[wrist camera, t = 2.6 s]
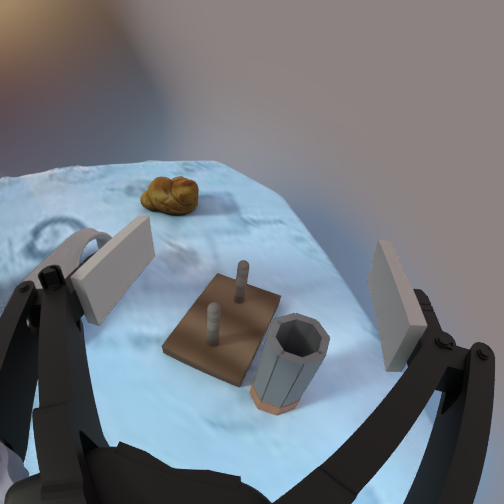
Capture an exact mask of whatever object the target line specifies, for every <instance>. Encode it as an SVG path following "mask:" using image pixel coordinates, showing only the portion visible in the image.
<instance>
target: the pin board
mask: <svg viewBox="0 0 504 504" xmlns="http://www.w3.org/2000/svg"><path fill="white" fill-rule="evenodd" d="M248 272H249V263H248V262H247V261H245V260H242V261H240V262H239V263H238V269H237V277H236V280H235V279H232V278H229V277H226V276H224V275H221V274H218V273H217V274H216V276H215V277H214V278H213V280H212V281H211V282H210V283H209V285H208V286H207V287H206V289H205V290H204V291H203V293H202V294H201V295H200V296H199V298H198V299H197V300H196V302H195V303H194V304H193V306H192V307H191V308H190V309H189V311H188V312H187V313H186V315H185V316H184V317H183V319H182V320H181V321H180V323H179V324H178V325H177V327H176V328H175V329H174V330H173V332H172V333H171V334H170V336H169V337H168V338H167V340H166V341H165V342H164V344H163V345H162V349H163V353H165V354H167V355H169V356H171V357H173V358H175V359H177V360H179V361H181V362H183V363H185V364H187V365H189V366H191V367H193V368H195V369H198V370H200V371H202V372H204V373H206V374H209V375H211V376H213V377H216V378H218V379H220V380H223V381H225V382H227V383H230V384H232V385H235V386H237V387H240V385H241V383H242V381H243V379H244V377H245V375H246V372H247V370H248V368H249V366H250V364H251V362H252V360H253V358H254V356H255V354H256V352H257V350H258V348H259V345H260V343H261V341H262V339H263V337H264V335H265V333H266V331H267V328H268V326H269V324H270V322H271V320H272V318H273V315H274V313H275V311H276V309H277V307H278V304H279V302H280V298H281V296H280V295H277V294H274V293H271V292H268V291H266V290H263V289H260V288H257V287H254V286H251V285H249V284H247V278H248Z"/></svg>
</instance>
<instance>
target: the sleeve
mask: <svg viewBox="0 0 504 504" xmlns="http://www.w3.org/2000/svg"><path fill="white" fill-rule="evenodd" d="M329 341H330V338H329V335H328V334H327V332H326V331H325V330H324V328H323V327H322V326H321V324H320V323H319V321H317V320H316V319H313V318H310V317H307V316H304V315H301V314H298V313H296V314H295V313H292V314H289V315H285V316H282V317H278V318H275V319H274V321H273V323H272V325H271V327H270V329H269V332H268V334H267V336H266V340H265V343H264V347H263V351H262V354H261V358H260V361H259V365H258V368H257V372H256V375H255V379H254V381H253V383H252V385H251V389H250V394H251V396H252V398H253V400H254V402H255V404H256V406H257V408H258V409H260V410H263V411H266V412H268V413H271V414H274V415H279V414H282V413H284V412H287V411H289V410H292V409H294V408H295V407H296V405H297V404H298V402H299V400H300V397H301V396H302V394H303V393H304V391H305V389H306V388H307V386H308V385H309V383H310V381H311V380H312V378H313V376H314V375H315V373H316V372H317V370H318V368H319V366H320V365H321V363H322V361H323V360H324V358H325V356H326V353H327V349H328V345H329Z"/></svg>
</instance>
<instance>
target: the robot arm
mask: <svg viewBox="0 0 504 504" xmlns="http://www.w3.org/2000/svg"><path fill="white" fill-rule="evenodd" d="M154 257H155V252H154V246H153V239H152V233H151V226H150V219H149V216H138V217H136V218H135V219H134V220H133V221H132V222H130V223H129V224H128V225H127V226H126V227H125V228H123V229H122V230H121V231H120V232H119V233H118V234H116V235H115V236H114V237H113V238H112V239H111V240H110V241H108V242H107V243H106V244H105V245H104V246H103V247H102V248H101V249H99V250H98V251H97V252H96V253H94V254H92V255H90V256H88V257H87V258H86V259H85V260H84V261H83V263H81V264H80V265H79V266H78V267H77V268H76V269H74V270H73V271H72V272H71V273H70V274H69V275H68V276H67V277H66V278H64V276H63V273H62V270H61V267H60V266H59V265H50V266H47V267H45V268H43V269H42V270H41V271H40V272H39V273H38V278H39V281H40V283H41V286H42V288H43V289H36V287H35V284H34V282H33V281H30V280H28V281H23V282H21V283H20V284H19V285H18V286H17V287H16V288H15V290H14V292H13V294H12V296H11V298H10V299H9V301H8V303H7V305H6V307H5V310H4V312H3V314H2V316H1V318H0V502H1V503H2V504H351V503H352V502H353V501H354V500H355V499H356V497H357V495H358V493H359V492H360V491H361V490H362V489H363V487H364V486H365V485H366V484H367V483H368V482H369V481H370V480H371V479H372V477H373V476H374V475H375V474H376V473H377V472H378V470H379V469H380V468H381V467H382V466H383V464H384V463H385V462H386V461H387V460H388V458H389V457H390V456H391V454H392V453H393V452H394V451H395V449H396V448H397V447H398V445H399V444H400V443H401V441H402V440H403V439H404V437H405V436H406V434H407V433H408V431H409V430H410V429H411V427H412V426H413V424H414V423H415V421H416V420H417V418H418V417H419V415H420V414H421V412H422V410H423V409H424V407H425V406H426V404H427V402H428V400H429V399H430V397H431V396H432V394H433V392H434V390H438V391H442V395H441V399H440V403H439V407H438V411H437V415H436V418H435V422H434V425H433V429H432V432H431V435H430V438H429V441H428V444H427V447H426V450H425V453H424V456H423V459H422V461H421V464H420V467H419V469H418V472H417V474H416V477H415V479H414V481H413V484H412V486H411V488H410V490H409V493H408V495H407V497H406V499H405V501H404V503H403V504H473V502H474V499H475V495H476V492H477V489H478V485H479V482H480V478H481V474H482V470H483V465H484V461H485V456H486V451H487V446H488V440H489V434H490V427H491V419H492V410H493V399H494V381H495V356H494V353H493V351H492V349H491V348H490V347H489V346H488V345H486V344H484V343H481V342H477V343H475V344H473V345H472V347H471V348H470V350H469V349H466V348H462V347H459V346H456V343H455V340H454V339H453V337H452V336H451V335H449V334H448V333H446V332H444V331H442V329H441V327H440V324H439V322H438V319H437V317H436V315H435V312H433V311H434V310H433V307H432V306H431V303H430V301H429V298H428V296H426V294H425V293H424V292H423V291H422V290H419V289H413V288H412V286H411V283H410V281H409V279H408V276H407V274H406V272H405V270H404V268H403V266H402V263H401V261H400V259H399V257H398V255H397V253H396V250H395V248H394V246H393V244H392V242H391V241H390V240H382V239H378V242H377V245H376V249H375V253H374V257H373V261H372V265H371V269H370V272H369V276H368V280H367V282H368V286H369V290H370V294H371V299H372V302H373V307H374V312H375V316H376V321H377V326H378V331H379V336H380V341H381V346H382V352H383V358H384V364H385V370H386V371H389V372H402V370H403V368H404V366H405V365H406V363H407V365H408V368H407V369H406V371H405V372H404V374H403V375H402V376H401V378H400V379H399V380H398V382H397V383H396V384H395V386H394V387H393V388H392V389H391V391H390V392H389V393H388V394H387V396H386V397H385V398H384V399H383V401H382V402H381V403H380V404H379V405H378V407H377V408H376V409H375V410H374V411H373V412H372V414H371V415H370V416H369V417H368V418H367V419H366V420H365V422H364V423H363V424H362V425H361V426H360V427H359V428H358V429H357V430H356V431H355V432H354V433H353V435H352V436H351V437H350V438H349V439H348V440H347V441H346V442H345V443H344V444H343V445H342V446H341V447H340V448H339V449H338V450H337V451H336V452H335V453H334V454H333V455H331V456H330V457H329V458H328V459H327V460H326V461H325V462H324V463H323V464H322V465H320V466H319V467H317V468H316V469H315V470H314V471H312V472H311V473H310V474H309V475H308V476H306V477H305V478H304V479H303V480H302V481H300V482H299V483H298V484H297V485H296V486H294V487H293V488H292V489H290V490H289V491H288V492H287V493H285V494H284V495H283V496H281V497H280V498H279V499H277V500H276V501H275V502H273V503H271V502H270V501H269V500H268V499H267V498H266V497H265V496H264V495H263V494H262V493H261V492H259V491H258V490H256V489H255V488H253V487H251V486H249V485H247V484H245V483H243V482H241V476H235V475H230V474H225V473H220V472H215V471H211V470H192V469H175V468H172V467H170V466H168V465H167V464H165V463H163V462H162V461H160V460H158V459H157V458H155V457H154V456H152V455H151V454H149V453H147V452H146V451H143V450H141V449H138V448H135V447H133V446H130V445H128V444H125V443H123V442H120V441H119V443H118V446H117V447H110V446H109V444H108V443H107V441H106V439H105V437H104V435H103V432H102V428H101V425H100V421H99V417H98V413H97V408H96V404H95V399H94V395H93V390H92V385H91V379H90V374H89V368H88V362H87V355H86V348H85V340H84V331H83V323H82V320H81V317H82V316H83V314H85V316H86V319H87V321H88V323H91V324H95V325H98V326H100V325H101V323H102V322H103V321H104V319H105V318H106V317H107V315H108V314H109V313H110V311H111V310H112V309H113V308H114V306H115V305H116V304H117V302H118V301H119V300H120V299H121V297H122V296H123V295H124V294H125V292H126V291H127V290H128V288H129V287H130V286H131V285H132V284H133V282H134V281H135V280H136V279H137V277H138V276H139V275H140V274H141V272H142V271H143V270H144V269H145V268H146V266H147V265H148V264H149V263H150V262H151V260H152V259H153V258H154ZM27 320H28V322H29V325H27ZM37 381H38V386H39V408H35V409H34V410H33V413H32V408H33V402H34V396H35V391H36V386H37ZM31 414H32V419H33V430H34V439H35V446H36V453H37V459H38V465H39V470H40V473H38V474H35V475H33V476H30V477H29V472H28V470H27V469H26V468H24V464H23V463H24V460H25V456H26V451H27V446H28V439H29V430H30V422H31Z"/></svg>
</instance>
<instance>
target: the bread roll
mask: <svg viewBox="0 0 504 504" xmlns="http://www.w3.org/2000/svg"><path fill="white" fill-rule="evenodd" d="M198 191H199V189H198V185H197V184H196V182H195V181H193V180H189V179H187V178H184V177H182V176H180V177H176V178H173V179H172V180H171V179H169V178H167V177H157V178H155V179H154V180H153V181H152V182H151V183H150V185H149V187H148V190H147V191H146V192H144V193H143V194H142V196H141V199H140V200H141V204H142V206H143V207H145V208H146V209H148V210H151V211H160V212H162V213H166V214H171V215H182V214H187V213H189V212H191V211H192V210H194V209H195V208H196V206H197V204H198Z"/></svg>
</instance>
